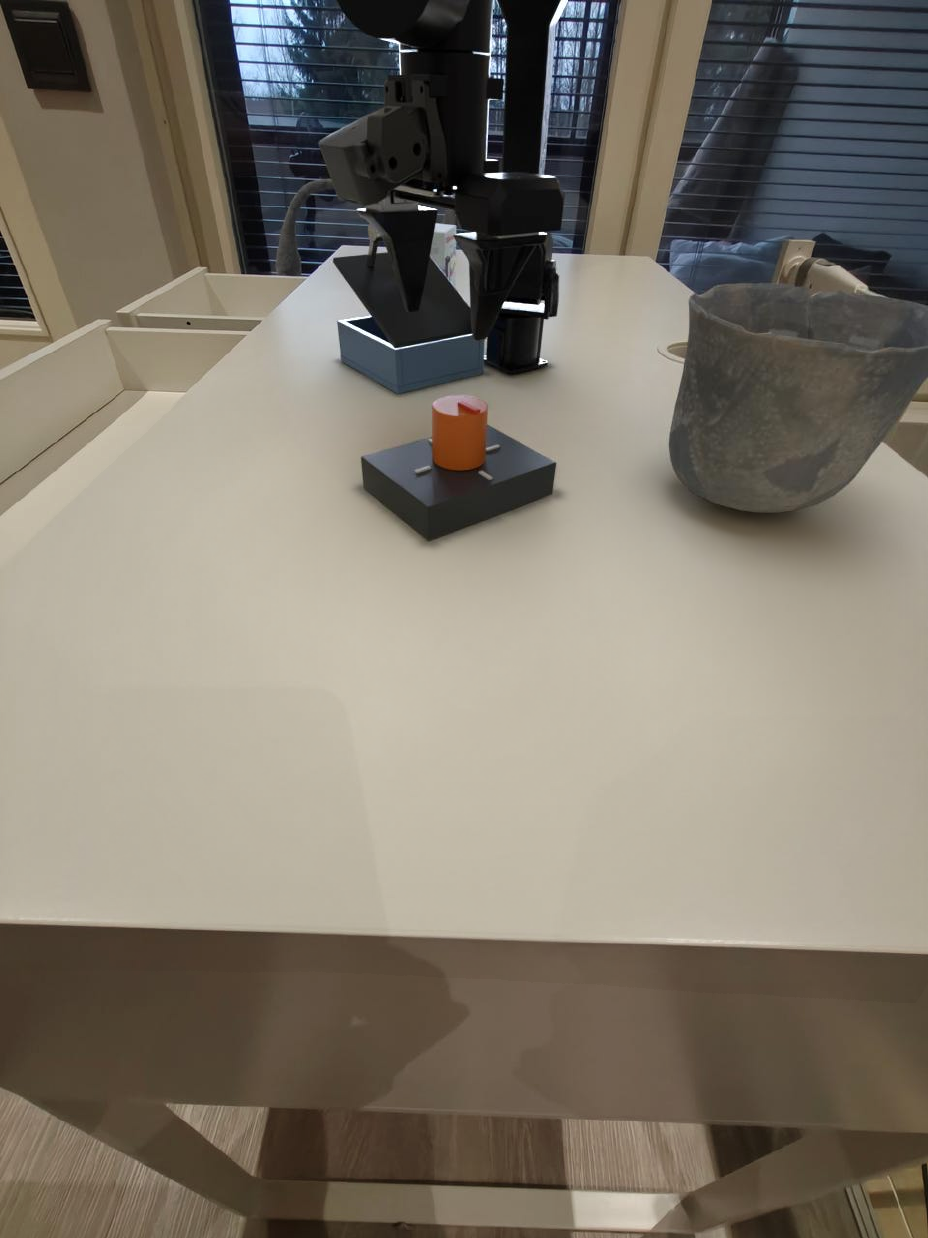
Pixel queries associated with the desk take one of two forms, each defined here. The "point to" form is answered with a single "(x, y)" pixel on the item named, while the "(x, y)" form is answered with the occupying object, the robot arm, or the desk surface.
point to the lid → (383, 299)
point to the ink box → (445, 250)
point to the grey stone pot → (790, 391)
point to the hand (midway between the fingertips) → (444, 324)
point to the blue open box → (407, 357)
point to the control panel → (456, 483)
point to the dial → (459, 432)
